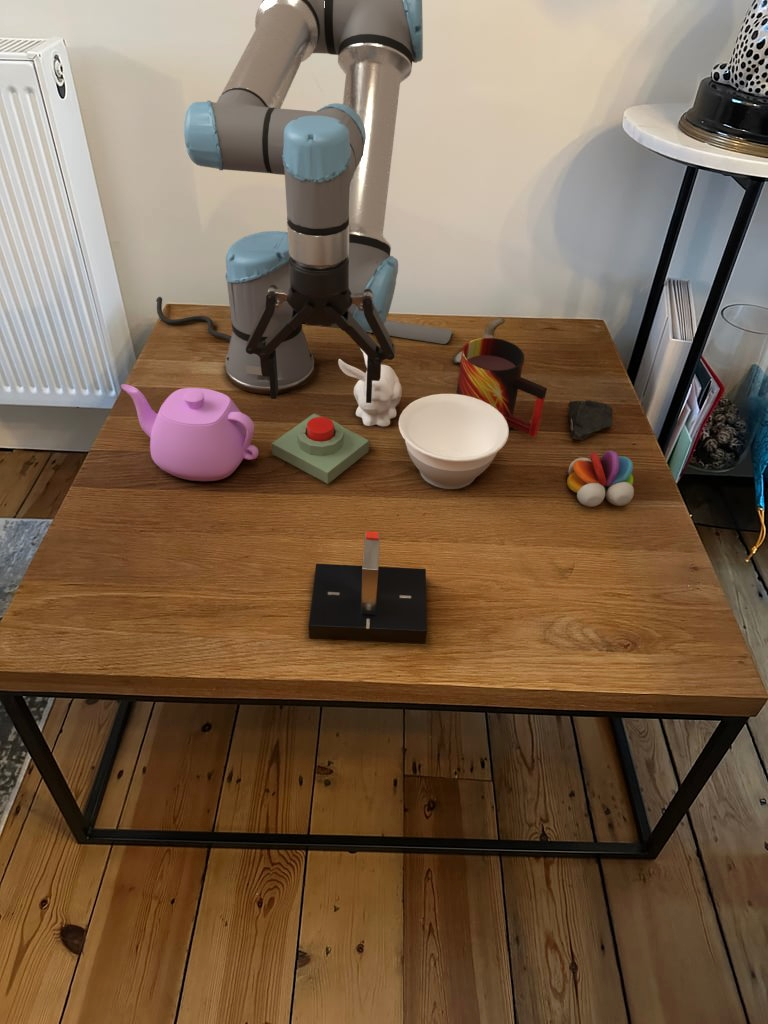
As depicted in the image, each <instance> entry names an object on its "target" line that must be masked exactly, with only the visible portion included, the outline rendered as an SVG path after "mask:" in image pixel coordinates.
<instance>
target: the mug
mask: <svg viewBox="0 0 768 1024" xmlns="http://www.w3.org/2000/svg"><path fill="white" fill-rule="evenodd" d="M461 352H462V355H461V362H459V363H460V364H459V372H458V379H457V387H456V394H458V395H465V396H469V397H473V398H476V399H479V400H482V401H484V402H486V403H488V404H490V405H491V406H493V407H494V408H495V409H497V410H498V411H499V412H500V413H501V414H502V415H503V417H504V418H505V420H506V421H507V424H508V428H509V429H510V427H511V428H513V429H515V430H518V431H519V432H522V433H525V434H526V435H529V436H531V437H532V438H535V437H536V436H537V435H538V433H539V429H540V424H541V419H542V412H543V408H544V403H545V399H546V395H547V391H548V387H546V386H543V385H541V384H539V383H536V382H534V381H531V380H529V379H527V378H524V377H522V372H523V368H524V363H525V354H524V352H523V350H522V349H521V348H520V347H519V346H517V345H516V344H514V343H512V342H511V341H508V340H505V339H501V338H497V337H494V338H481V337H480V338H479V337H478V338H475V339H473V340H470V341H468V342H467V343H465V344H464V345H463V347H462V348H461ZM519 390H520V391H521V392H524V393H526V394H528V395H530V396H533V397H536V399H535V403H534V406H533V412H532V417H531V421H530V422H529V421H527V420H524V419H522V418H520V417H518V416H516V415H514V413H515V408H516V403H517V398H518V393H519V392H518V391H519Z"/></svg>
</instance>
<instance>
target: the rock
mask: <svg viewBox="0 0 768 1024" xmlns="http://www.w3.org/2000/svg"><path fill="white" fill-rule="evenodd" d="M567 416H568V423H569V428H570V436H571V439H572V440H575V441H578V440H581V441H583V440H586V439H588V437H591V436H592V435H594V434H596V433H597V432H600V431H603V430H606V429H609V428H612V427H613V419H614V417H613V407H612V406H611V405H608V404H607V403H604V402H600V401H595V400H591V399H586V400H569V402H568V410H567Z"/></svg>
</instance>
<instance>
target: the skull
mask: <svg viewBox="0 0 768 1024" xmlns="http://www.w3.org/2000/svg"><path fill="white" fill-rule="evenodd" d="M505 321H506V320H505V318H503V317H498V318H495V319H493V320H491V321H490V322H489V323H488V324H487V325H486V327H485V328H484V332H483V334H482V335H481V337H480V338H495V332H496V329H497V328H498V327H499V326H501V325H503V324H504V323H505ZM461 355H462V351H460V352H459V353H457V355H456V356H455V357H454V359H453V362H454V364H458V363H461Z"/></svg>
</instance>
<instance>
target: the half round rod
mask: <svg viewBox="0 0 768 1024" xmlns="http://www.w3.org/2000/svg"><path fill="white" fill-rule="evenodd" d="M384 326H385V328H386V330H387V332H388V334H389V336H390V337H396V338H401V339H402V338H403V339H407V340H414V341H422V342H428V343H434V344H439V345H440V344H441V345H446V344H447V343H449V341H450V340H451V337H452V334H453V329H449V328H442V327H435V326H430V325H423V324H416V323H410V322H404V321H403V322H402V321H397V320H392V319H391V320H389V319H386V321H385V323H384ZM366 332H367V333H370V334H373V332H372V331H366Z"/></svg>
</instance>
